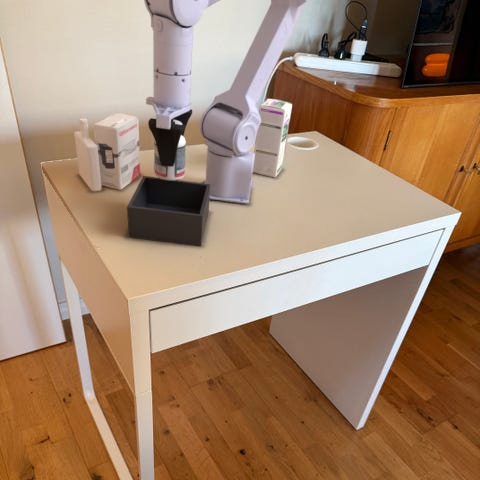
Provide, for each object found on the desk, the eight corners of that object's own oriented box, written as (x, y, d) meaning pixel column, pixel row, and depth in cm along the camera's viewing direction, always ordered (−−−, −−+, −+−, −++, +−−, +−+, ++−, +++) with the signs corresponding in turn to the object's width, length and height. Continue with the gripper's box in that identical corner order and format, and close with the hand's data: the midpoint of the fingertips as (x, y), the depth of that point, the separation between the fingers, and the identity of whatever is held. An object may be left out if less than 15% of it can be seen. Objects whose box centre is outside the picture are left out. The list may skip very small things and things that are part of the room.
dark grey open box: (208, 212, 86) (210, 184, 82) (200, 246, 76) (202, 216, 73) (144, 204, 85) (143, 175, 82) (128, 237, 76) (126, 206, 72)
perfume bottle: (102, 190, 88) (96, 126, 80) (92, 191, 87) (85, 127, 79) (88, 173, 92) (81, 111, 85) (79, 174, 91) (71, 112, 84)
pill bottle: (182, 169, 82) (184, 118, 76) (186, 181, 78) (188, 129, 73) (153, 168, 81) (153, 116, 75) (155, 181, 77) (155, 127, 71)
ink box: (119, 169, 95) (115, 110, 88) (141, 174, 95) (139, 116, 87) (98, 185, 89) (92, 123, 81) (121, 190, 88) (117, 128, 81)
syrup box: (275, 178, 101) (287, 109, 91) (250, 172, 102) (259, 103, 92) (282, 169, 105) (293, 102, 95) (258, 163, 106) (267, 97, 96)
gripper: (156, 57, 75) (155, 141, 83) (134, 78, 63) (137, 171, 72) (198, 64, 75) (194, 146, 83) (185, 85, 64) (181, 178, 72)
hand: (170, 158), depth 78 cm, fingers closed on pill bottle, 5 cm apart
